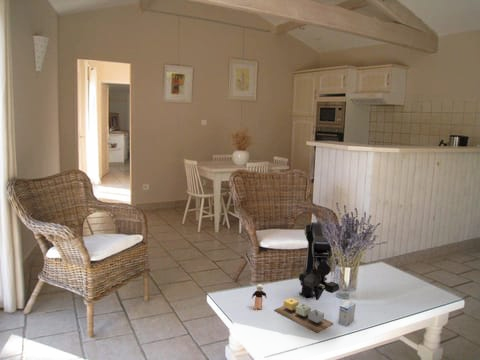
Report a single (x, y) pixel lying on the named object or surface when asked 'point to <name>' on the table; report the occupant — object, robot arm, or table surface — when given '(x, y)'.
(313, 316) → the slate tile
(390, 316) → the table surface
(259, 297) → the grandmother figurine
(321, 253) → the robot arm
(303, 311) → the sage tile
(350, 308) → the medicine box
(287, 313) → the button board
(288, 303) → the mustard tile
